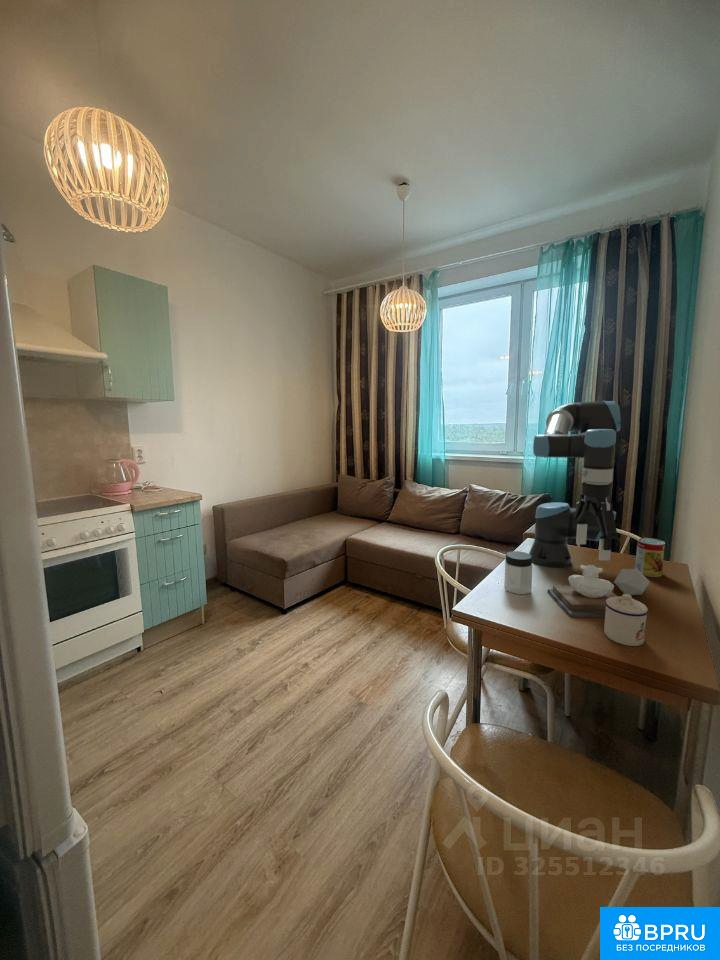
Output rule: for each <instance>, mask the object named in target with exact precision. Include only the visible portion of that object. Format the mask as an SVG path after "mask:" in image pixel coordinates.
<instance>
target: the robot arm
mask: <svg viewBox="0 0 720 960" xmlns="http://www.w3.org/2000/svg"><path fill="white" fill-rule="evenodd" d="M621 421H622V420H621V411H620V406H619V404H618V402H617V401H615V400H609V401H608V400H602V401H579V402H575V401H574V402H573V401H572V402H568V403H565V404H561V405H560V406H558V407H556V408H555V409H553V410H552V411H550V413H549V414H548V415H547V417H546V420H545V426H546V427H545V430H544V433H540V434H535V435H534V437H533V444H532V452H533V455H534V456H535V457H536V458H537V457H538V458H567V459H568V458H573V459H575V458H576V459H583V460H582V471H581V475H582V476H581V492H580V494H579V500H578V501H577V502H576V503H575V507H571V505H570V504H569V503H568V502H562V501H561V502H554V501H553V502H545V503H542V504H539V505H538V506H537V507H536V508H535V515H534V518H535V523H534V524H535V525H534V541H533V542H532V545H531V548H530V550H529V553H528V554H530V555H531V556H532V563H534V564H537V565H541V566H544V567H551V568H563V567H565V568H566V567H568V566H570V565H572V564H571V563H572V556H571V553H570V549H569V546H568V539H570V538H571V539H576V540H575V544H576V545H587V541H594V542H599V550H598V560H599V561H611V553H612V541H613V540H617V539H618V538H619V536H618V531H617V525H616V516H617V512H616V511H614V504H613V502H608V498H610V497H611V496H612V491H613V485H612V484H611V483H612V482H613V481H614V479H613V476H614V461H615V450H616V442H617V439H616V434H617V433H618V432H620V431H621ZM569 432H576V433H574V434H573V433H570V434H569ZM577 432H579V433H577Z"/></svg>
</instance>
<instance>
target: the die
mask: <svg viewBox="0 0 720 960" xmlns="http://www.w3.org/2000/svg"><path fill="white" fill-rule="evenodd" d="M613 583H614V584H615V585H616V586H617V587H618V588H619V589H620V591H621V592H622V593H623V594H629V595H631V596H640V595H641V596H642V595H643V594H644V592H645V590H646V589H647V587H648V586H649V585H650V580H649V579H648V577H647V576H644V575H643V574H642V573H641V572H640V571H639V570H638V569H635V568H622V569H620V571H619V573H618V575H617V576H616V577H615V580H614V581H613Z"/></svg>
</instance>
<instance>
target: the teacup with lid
mask: <svg viewBox="0 0 720 960" xmlns="http://www.w3.org/2000/svg"><path fill="white" fill-rule="evenodd" d="M632 596H633V595H629V594H624V593H623V594H622V595H621V596H618V597H610V598H608V599H607V600H606V602H605V604H606V613H605V617H604V626H603V627H604V628H603V629H604V630H603V632H604V635H605V636H606V637H607V638H608V639H609V640H611V641H613V642H615V643H617V644H621V645H622V646H623V645H624V646H629V647H630V646H631V647H637V646H641V645H643V644H644V643H645V635H646V624H647V615H648V614H649V609H648V607H647V606H646V605H645V604H644V603H642V602H641V601H639V600H636V599H634V598H633V597H632Z"/></svg>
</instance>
